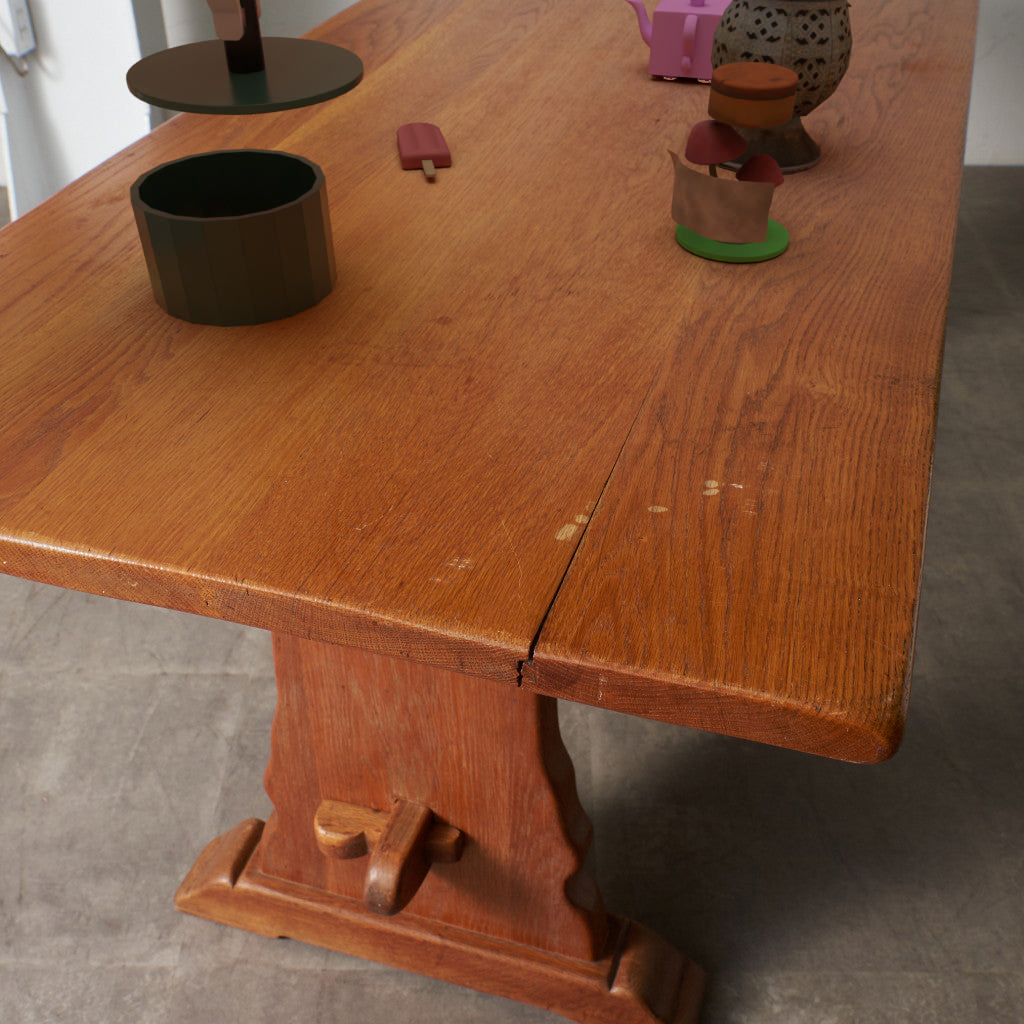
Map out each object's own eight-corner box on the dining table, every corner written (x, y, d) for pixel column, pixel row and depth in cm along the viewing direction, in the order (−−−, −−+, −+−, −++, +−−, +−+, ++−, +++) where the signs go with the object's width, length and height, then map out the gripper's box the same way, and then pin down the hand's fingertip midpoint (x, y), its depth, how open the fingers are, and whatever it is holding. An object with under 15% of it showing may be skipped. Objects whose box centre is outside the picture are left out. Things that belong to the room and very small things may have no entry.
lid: (94, 121, 66) (68, 18, 62) (170, 50, 79) (153, -39, 75) (343, 128, 65) (333, 25, 61) (380, 55, 78) (374, -34, 74)
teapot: (609, 82, 134) (614, -2, 127) (628, 54, 144) (634, -25, 137) (746, 93, 130) (759, 8, 123) (756, 63, 140) (768, -17, 134)
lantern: (727, 123, 121) (760, -120, 105) (844, 145, 115) (897, -109, 99) (679, 159, 112) (706, -102, 96) (803, 185, 106) (854, -88, 90)
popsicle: (405, 170, 105) (393, 123, 117) (406, 184, 106) (394, 136, 118) (456, 166, 106) (439, 120, 117) (456, 181, 107) (439, 133, 118)
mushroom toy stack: (692, 203, 102) (710, 45, 93) (811, 231, 97) (844, 67, 88) (637, 245, 95) (651, 78, 85) (764, 278, 89) (793, 104, 80)
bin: (131, 331, 82) (101, 220, 76) (186, 248, 94) (164, 147, 88) (318, 334, 82) (303, 223, 76) (350, 251, 94) (338, 149, 88)
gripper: (200, -230, 69) (233, -8, 78) (90, -203, 53) (147, 72, 62) (292, -228, 69) (314, -5, 78) (209, -201, 53) (249, 75, 62)
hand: (240, 30), depth 70 cm, fingers closed on lid, 2 cm apart
